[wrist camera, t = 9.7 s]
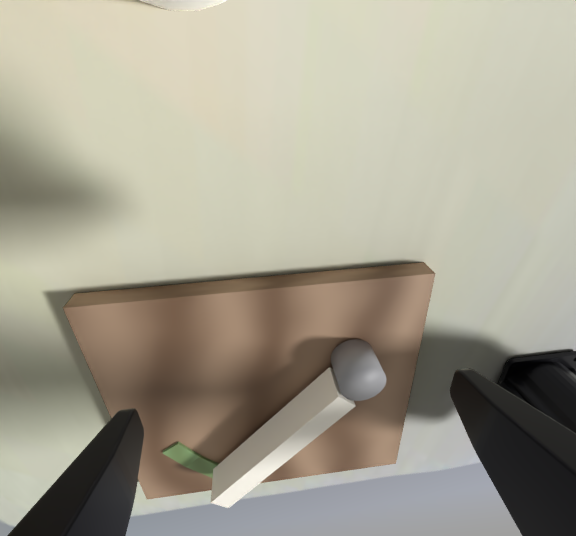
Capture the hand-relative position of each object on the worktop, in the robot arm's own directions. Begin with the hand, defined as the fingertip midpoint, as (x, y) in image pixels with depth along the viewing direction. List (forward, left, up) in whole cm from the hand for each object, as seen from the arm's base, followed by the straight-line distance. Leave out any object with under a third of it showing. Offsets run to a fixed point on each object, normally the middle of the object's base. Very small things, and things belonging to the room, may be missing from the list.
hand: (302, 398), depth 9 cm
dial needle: (0, +14, -10) cm, 17 cm away
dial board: (+1, +13, -12) cm, 18 cm away
